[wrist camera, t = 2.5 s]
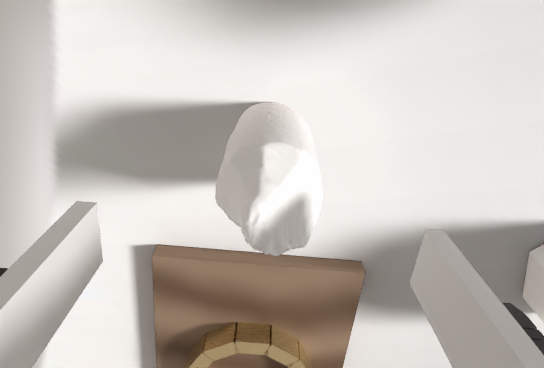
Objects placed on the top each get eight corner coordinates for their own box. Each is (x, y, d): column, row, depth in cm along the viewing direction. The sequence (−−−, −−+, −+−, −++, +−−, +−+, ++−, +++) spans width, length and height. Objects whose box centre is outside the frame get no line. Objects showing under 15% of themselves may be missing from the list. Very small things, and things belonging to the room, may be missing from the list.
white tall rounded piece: (363, 267, 16) (246, 316, 17) (327, 161, 27) (257, 195, 28) (297, 147, 14) (168, 213, 15) (286, 84, 25) (213, 125, 26)
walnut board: (157, 244, 30) (152, 255, 28) (361, 261, 30) (365, 273, 29) (163, 413, 38) (159, 428, 37) (323, 424, 39) (324, 439, 37)
